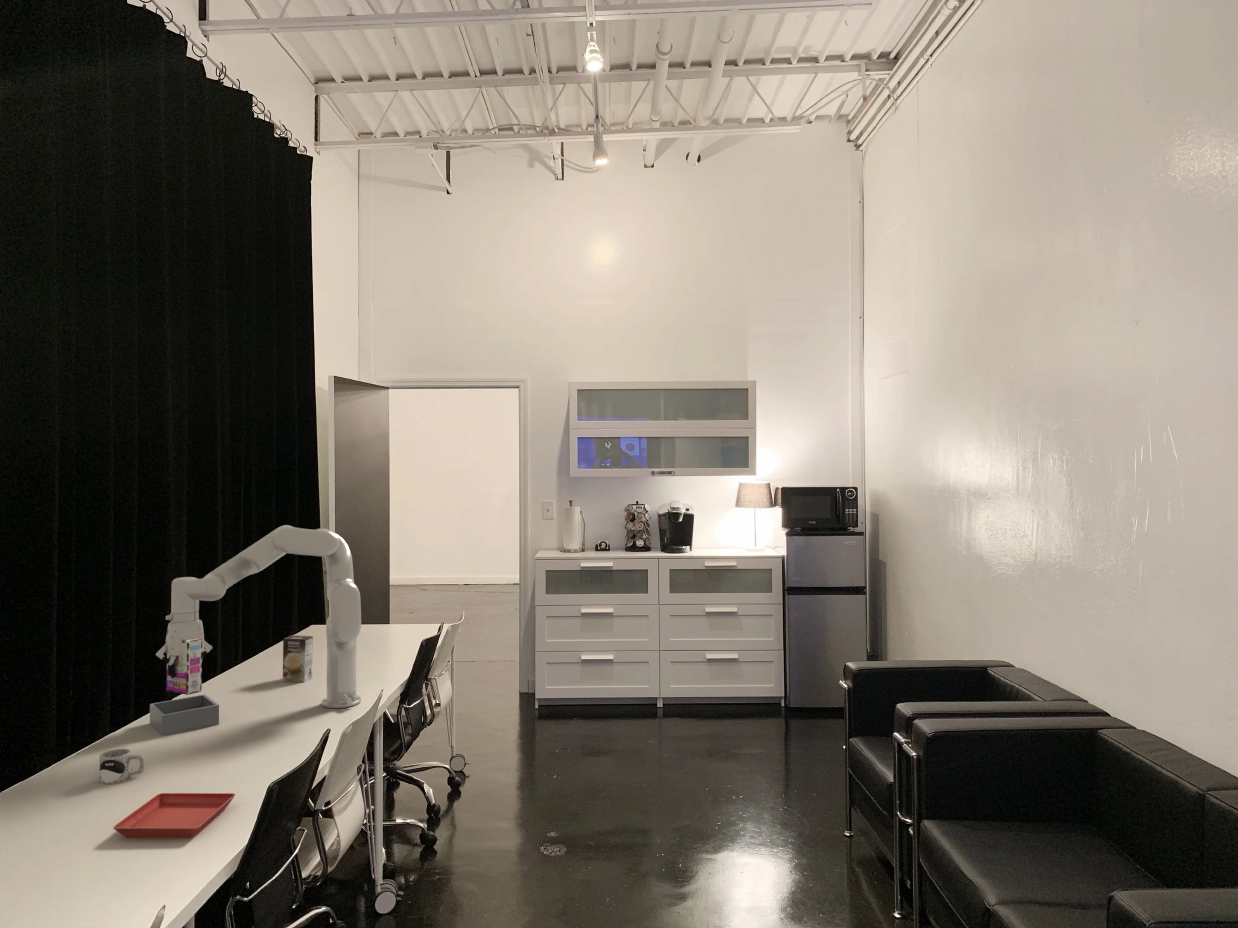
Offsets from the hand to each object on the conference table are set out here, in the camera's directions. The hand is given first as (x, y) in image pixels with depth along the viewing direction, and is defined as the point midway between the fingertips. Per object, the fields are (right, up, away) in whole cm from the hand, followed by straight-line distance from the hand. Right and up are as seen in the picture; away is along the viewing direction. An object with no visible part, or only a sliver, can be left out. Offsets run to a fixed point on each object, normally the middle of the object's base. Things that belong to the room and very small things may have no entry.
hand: (184, 674), depth 241 cm
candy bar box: (0, -5, 0) cm, 5 cm away
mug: (+8, -15, -43) cm, 46 cm away
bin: (0, -15, 0) cm, 15 cm away
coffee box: (+14, -16, +51) cm, 55 cm away
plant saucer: (+36, -15, -67) cm, 78 cm away
